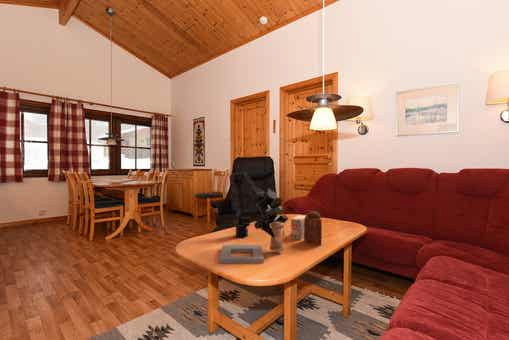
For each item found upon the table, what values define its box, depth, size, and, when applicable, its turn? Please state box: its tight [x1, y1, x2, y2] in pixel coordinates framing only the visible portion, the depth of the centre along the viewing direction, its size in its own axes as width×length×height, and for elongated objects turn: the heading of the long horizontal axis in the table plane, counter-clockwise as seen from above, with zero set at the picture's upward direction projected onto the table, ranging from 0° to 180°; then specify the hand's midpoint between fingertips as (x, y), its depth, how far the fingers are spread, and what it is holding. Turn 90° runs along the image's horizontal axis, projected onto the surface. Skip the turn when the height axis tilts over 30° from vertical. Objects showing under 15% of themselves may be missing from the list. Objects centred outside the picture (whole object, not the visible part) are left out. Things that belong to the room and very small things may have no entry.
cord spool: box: [269, 222, 285, 252], centre depth 127 cm, size 7×7×13 cm
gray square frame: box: [218, 244, 265, 264], centre depth 123 cm, size 19×20×2 cm
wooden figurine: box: [303, 210, 323, 246], centre depth 144 cm, size 12×6×18 cm, turn 46°
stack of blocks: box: [290, 214, 306, 241], centre depth 159 cm, size 21×6×12 cm, turn 150°
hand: (278, 236), depth 126 cm, fingers closed on cord spool, 6 cm apart
